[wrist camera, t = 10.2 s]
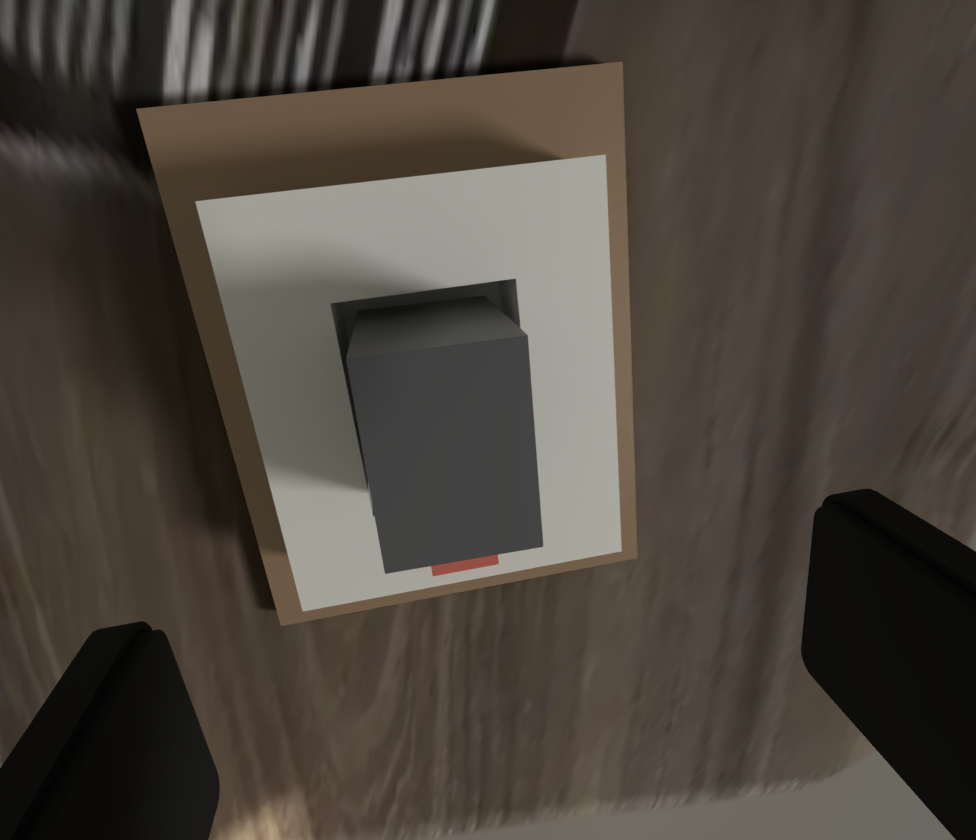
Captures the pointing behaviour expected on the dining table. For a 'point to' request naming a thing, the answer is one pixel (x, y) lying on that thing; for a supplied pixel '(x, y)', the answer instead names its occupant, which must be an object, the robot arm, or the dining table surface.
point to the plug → (446, 431)
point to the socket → (406, 300)
